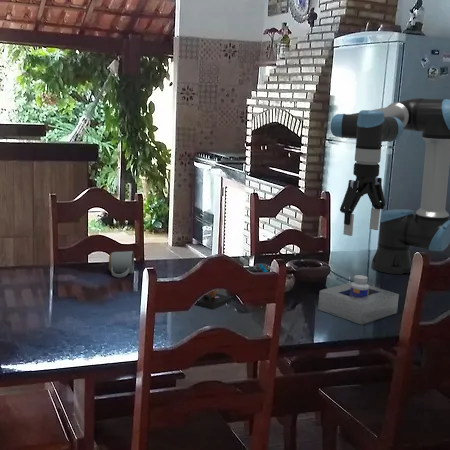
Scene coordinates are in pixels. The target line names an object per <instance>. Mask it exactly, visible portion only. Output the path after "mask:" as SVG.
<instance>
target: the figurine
mask: <svg viewBox="0 0 450 450" xmlns="http://www.w3.org/2000/svg"><path fill="white" fill-rule="evenodd" d="M232 298H233V297H232V296H229V295H225V294H220V293H219V290H218V289H217V290H215V291H212V292H210V293H208V294H206V295H204V296H203V297H202V298H201V299H200V300H199V301H197V303H196V304H195V305H194V306H198V307H200V308H206V309H208V310H209V309H210V310H216V309H218V308H220V307H222V306H225V305H227V304H229V303H231V302H232Z"/></svg>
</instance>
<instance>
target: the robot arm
mask: <svg viewBox="0 0 450 450" xmlns="http://www.w3.org/2000/svg"><path fill="white" fill-rule="evenodd" d="M404 130H407V131H414V132H422V133H421V134H422V135H421V138H422V140H423V141H424V142H425V152H424V163H423V165H424V166H423V175H422V185H421V187H422V188H421V196H420V197H421V198H420V207H419V208H418V209H417V210H416V211H415V213H414V210H413V209H412V210H411V209H408V208H407V209H406V208H405V209H404V208H402V209H399V208H398V209H388V210H387V209H386V210H384V209H385V206H386V201H385V195H384V190H383V186H382V177H379V175H380V167H381V166H380V164H379V163H380V162H381V156H382V155H381V153H382V142H386V143H387V142H389V143H391V142H394V141H397V140H399V138H401V137H402V136H403V133H404ZM330 132H331V134H332V136H333V137H335V138H336V137H337V138H340V139H354V140H355V152H354V163H353V173H352V174H353V175H354V176H355V180H354V179H349V180H348V184H347V188H346V191H345V195H344V197H343V200H342V202H341V205H340V207H339V211H340V213H341V214H344V217H343V233H342V234H343V235H345V236H349V237H351V236H352V237H353V234H354V233H353V231H354V222H355V221H354V220H355V214H354V210H355V209H356V207H357V205H358V203H359V202H360V200H361V198H362V197H364V195H367V196H368V198H369V201H370V203H371V206H372V207H373V208H371V209H370V218H369V221H370V222H369V230H373V231H379V236H378V246H377V248H376V251H375V254H374V255H373V257H372V261H371V268H372V269H373V270H375V271H378V272H381V273H386V274H390V275H391V274H394V275H404V274H403V273H407V274H409V273H408V272H410V268H411V263H412V259H411V253H410V247H414V248H418V249H419V248H420V249H425V250H429V251H431V252H432V251H435V252H442V251H444V250H445V249H447V248H448V246H449V245H450V218H449V217H450V214H449V212H448V211H447V210H446V204H447V195H448V194H447V193H448V184H449V176H450V175H449V172H450V99H448V98H445V99H443V98H421V97H418V98H417V97H415V98H411V99H410V98H409V99H405V100H400V101H396V102H392V103H389V105H387V106H385V107H380V108H376V109H375V108H374V109H371V110H370V109H369V110H367V109H364V110H363V109H362V110H360V111H359V112H356V113H355V112H354V113H348V114H347V113H336V114H335V115H334V116H332V118H331V121H330ZM381 210H384V211H383V212H382V213H381ZM380 214H381V215H380ZM412 264H413V263H412Z"/></svg>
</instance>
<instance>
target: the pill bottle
mask: <svg viewBox="0 0 450 450" xmlns="http://www.w3.org/2000/svg"><path fill="white" fill-rule="evenodd" d="M368 279H369V278H368V276H366V275H362V274H361V275H360V274H356V275H354V276H353V281H352V282H353V283H352V284H351V289H350V297H353V298H356V299H358V298H361V297H365V296H368V293H369V284H368V281H369V280H368Z"/></svg>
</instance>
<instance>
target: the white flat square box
mask: <svg viewBox="0 0 450 450" xmlns="http://www.w3.org/2000/svg"><path fill="white" fill-rule="evenodd" d="M353 282H354V281H351V282H348V283H343V284H340V285H335V286H332V287H328V288H323V289H321V290H319V294H318V308H317V310H318V311H322V312H324V313H327V314H330V315H333V316H335V317H339V318H341V319H345V320H347V321H349V322H353V323H355V324H359V325H362V326H363V325H365V324H367V323H372V322H374V321H377V320H380V319H384V318H387V317H389V316H392V315H395V314H398V306H399V299H400V297H399V296H400V294H399V293H396V292H393V291H391V290H390V291H389V290H387V289H384V288H381V287H377V286H373V285H369V284H368V285H369V293H368V296H365V297H361V298H358V299H356V298H353V297H350V289H351V284H352V283H353Z"/></svg>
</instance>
